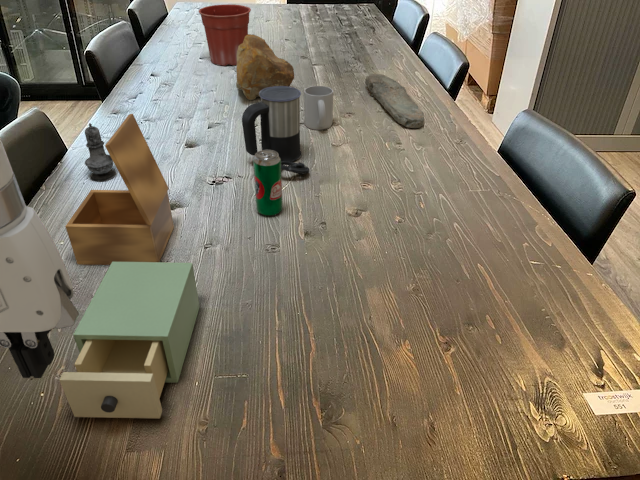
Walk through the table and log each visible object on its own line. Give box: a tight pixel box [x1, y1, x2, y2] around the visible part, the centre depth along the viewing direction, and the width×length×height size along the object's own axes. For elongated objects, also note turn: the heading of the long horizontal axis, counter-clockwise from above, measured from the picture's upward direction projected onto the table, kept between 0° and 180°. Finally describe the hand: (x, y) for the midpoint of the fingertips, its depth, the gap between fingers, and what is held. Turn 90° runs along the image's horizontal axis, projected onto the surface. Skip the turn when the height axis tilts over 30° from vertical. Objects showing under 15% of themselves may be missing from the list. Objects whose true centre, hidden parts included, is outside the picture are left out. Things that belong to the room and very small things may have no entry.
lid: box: [104, 113, 170, 226], centre depth 87 cm, size 14×12×1 cm
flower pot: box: [198, 3, 252, 67], centre depth 176 cm, size 16×16×16 cm
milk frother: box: [241, 86, 310, 176], centre depth 117 cm, size 14×16×15 cm
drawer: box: [59, 339, 169, 419], centre depth 68 cm, size 15×10×7 cm
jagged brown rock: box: [235, 33, 295, 101], centre depth 153 cm, size 23×17×15 cm
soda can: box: [252, 149, 284, 217], centre depth 102 cm, size 5×5×12 cm
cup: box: [303, 85, 334, 131], centre depth 135 cm, size 7×10×9 cm
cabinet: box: [72, 261, 201, 384], centre depth 74 cm, size 15×12×9 cm
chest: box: [65, 189, 175, 266], centre depth 93 cm, size 14×12×8 cm
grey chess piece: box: [84, 122, 117, 183], centre depth 113 cm, size 6×6×12 cm
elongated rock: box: [364, 73, 425, 129], centre depth 149 cm, size 35×5×10 cm
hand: (39, 366), depth 52 cm, fingers closed
